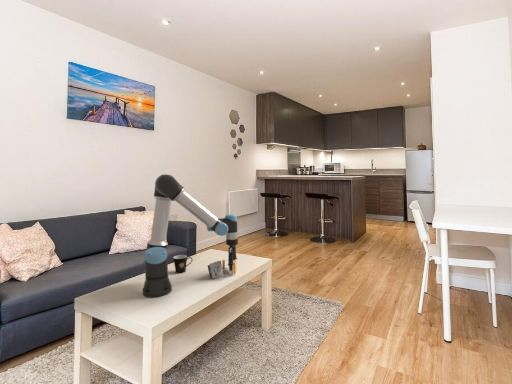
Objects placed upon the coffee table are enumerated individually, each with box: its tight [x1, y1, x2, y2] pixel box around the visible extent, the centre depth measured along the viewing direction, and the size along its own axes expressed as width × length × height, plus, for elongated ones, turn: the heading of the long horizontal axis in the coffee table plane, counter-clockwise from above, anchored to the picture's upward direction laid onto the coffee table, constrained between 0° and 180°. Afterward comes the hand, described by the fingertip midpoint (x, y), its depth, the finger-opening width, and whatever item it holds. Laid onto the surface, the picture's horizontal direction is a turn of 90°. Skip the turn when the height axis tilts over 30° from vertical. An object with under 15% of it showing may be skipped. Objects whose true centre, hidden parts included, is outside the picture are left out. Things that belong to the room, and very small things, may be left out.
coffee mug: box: [173, 254, 193, 274], centre depth 187 cm, size 12×9×10 cm
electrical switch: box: [207, 260, 225, 280], centre depth 178 cm, size 9×5×9 cm, turn 141°
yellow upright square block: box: [227, 260, 237, 275], centre depth 184 cm, size 4×4×7 cm
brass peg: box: [221, 259, 226, 269], centre depth 187 cm, size 2×2×6 cm
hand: (232, 272), depth 184 cm, fingers open, 10 cm apart
